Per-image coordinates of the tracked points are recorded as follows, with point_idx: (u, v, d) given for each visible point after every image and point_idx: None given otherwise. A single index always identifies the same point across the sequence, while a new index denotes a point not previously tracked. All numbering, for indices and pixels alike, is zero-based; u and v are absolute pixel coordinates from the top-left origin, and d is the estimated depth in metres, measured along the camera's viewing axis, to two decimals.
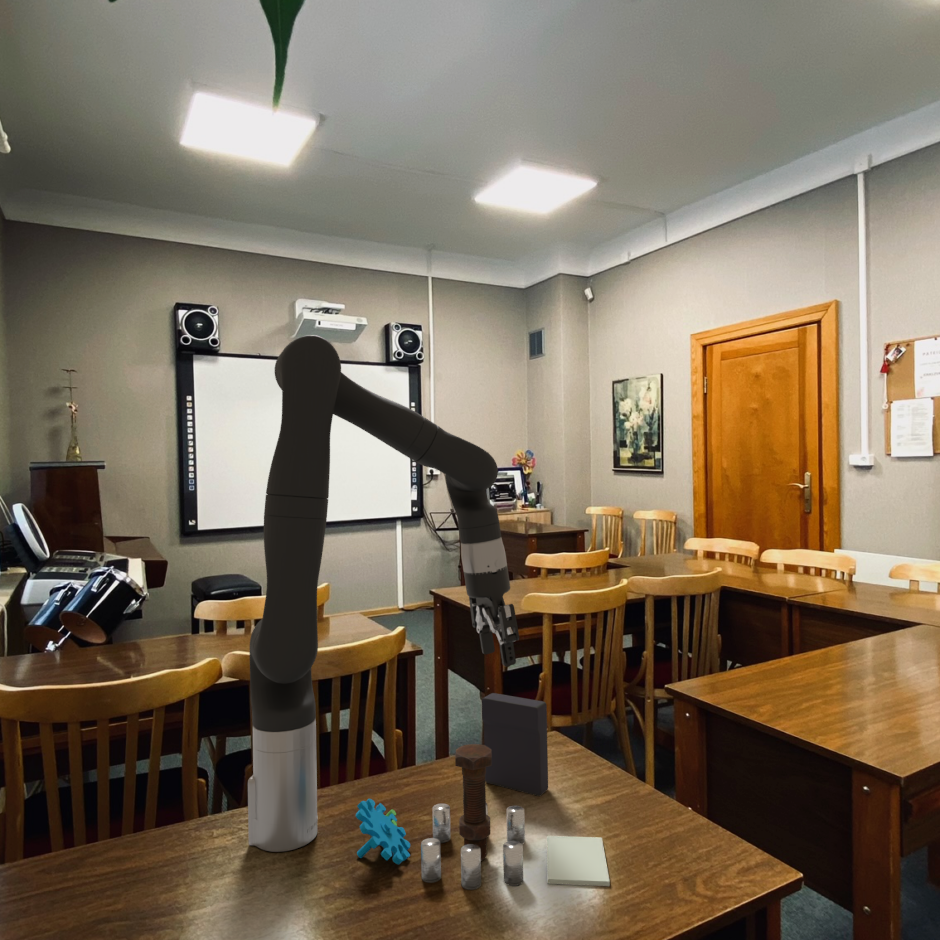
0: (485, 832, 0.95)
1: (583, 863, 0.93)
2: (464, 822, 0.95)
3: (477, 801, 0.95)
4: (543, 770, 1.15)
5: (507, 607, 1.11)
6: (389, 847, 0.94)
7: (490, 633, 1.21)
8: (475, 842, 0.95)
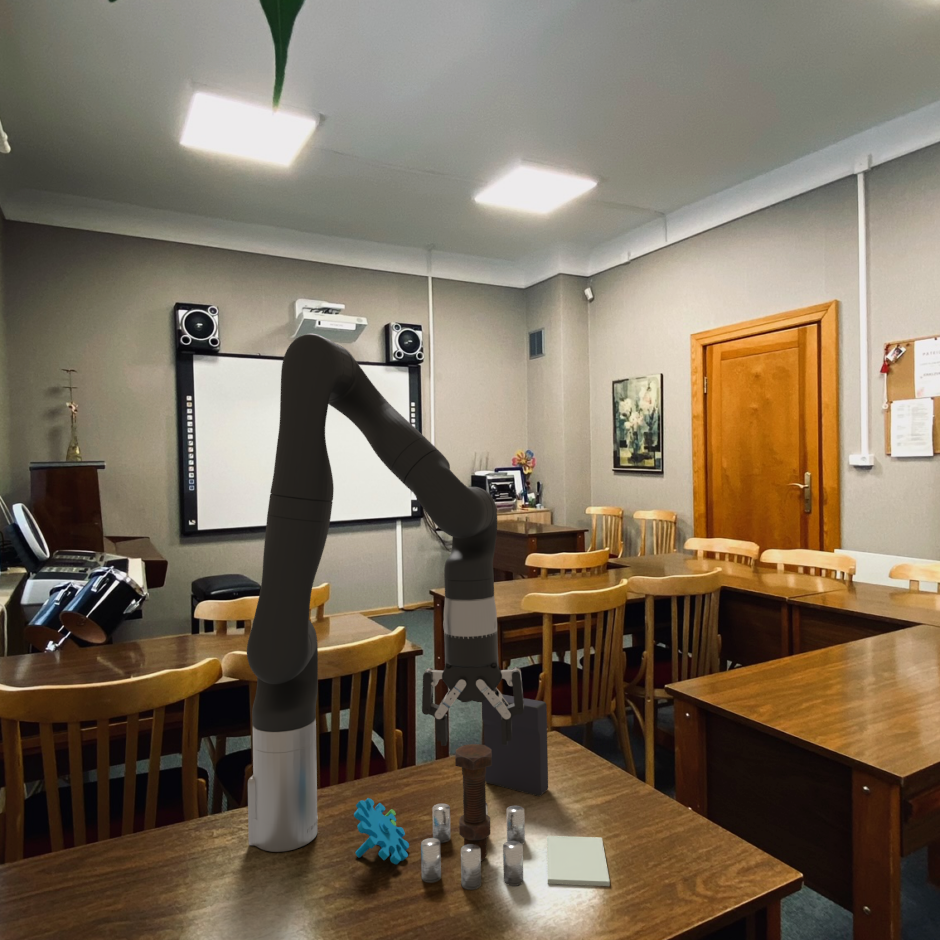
0: (485, 832, 0.95)
1: (583, 863, 0.93)
2: (464, 822, 0.95)
3: (477, 801, 0.95)
4: (543, 770, 1.15)
5: (425, 672, 0.97)
6: (387, 847, 0.94)
7: (501, 720, 0.96)
8: (475, 842, 0.95)
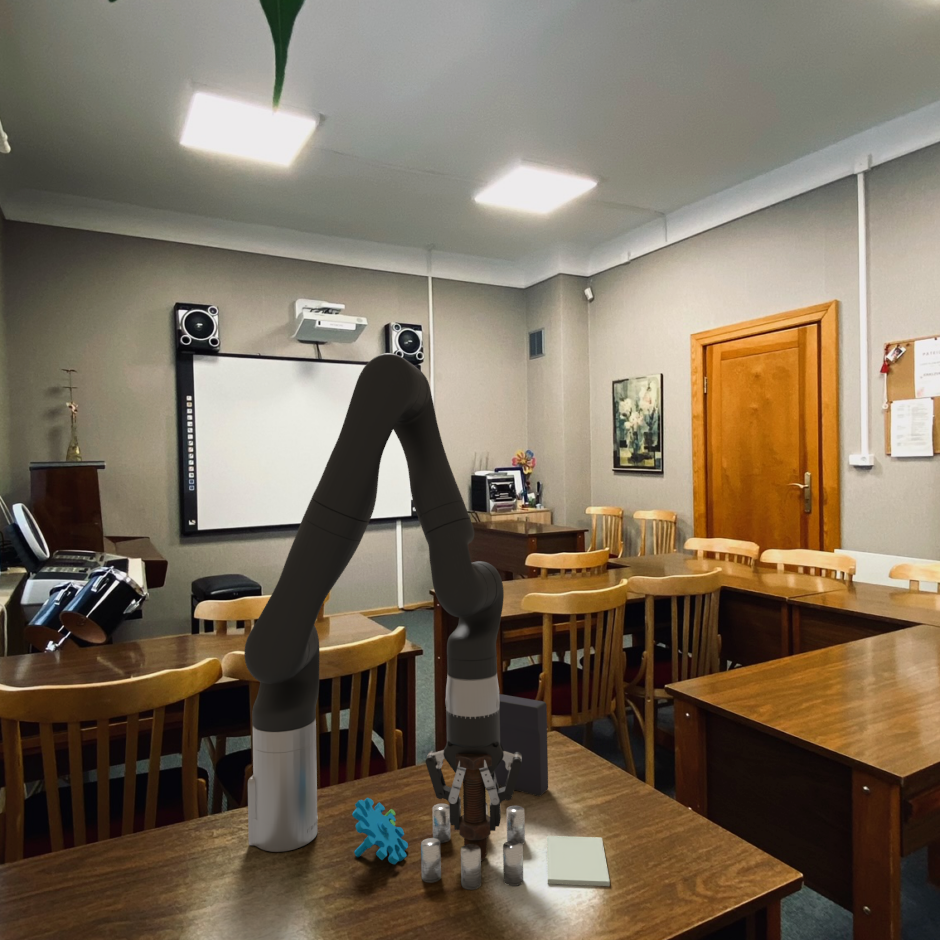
0: (485, 832, 0.95)
1: (583, 863, 0.93)
2: (464, 822, 0.95)
3: (477, 801, 0.95)
4: (543, 770, 1.15)
5: (427, 757, 0.97)
6: (385, 847, 0.94)
7: None
8: (475, 842, 0.95)
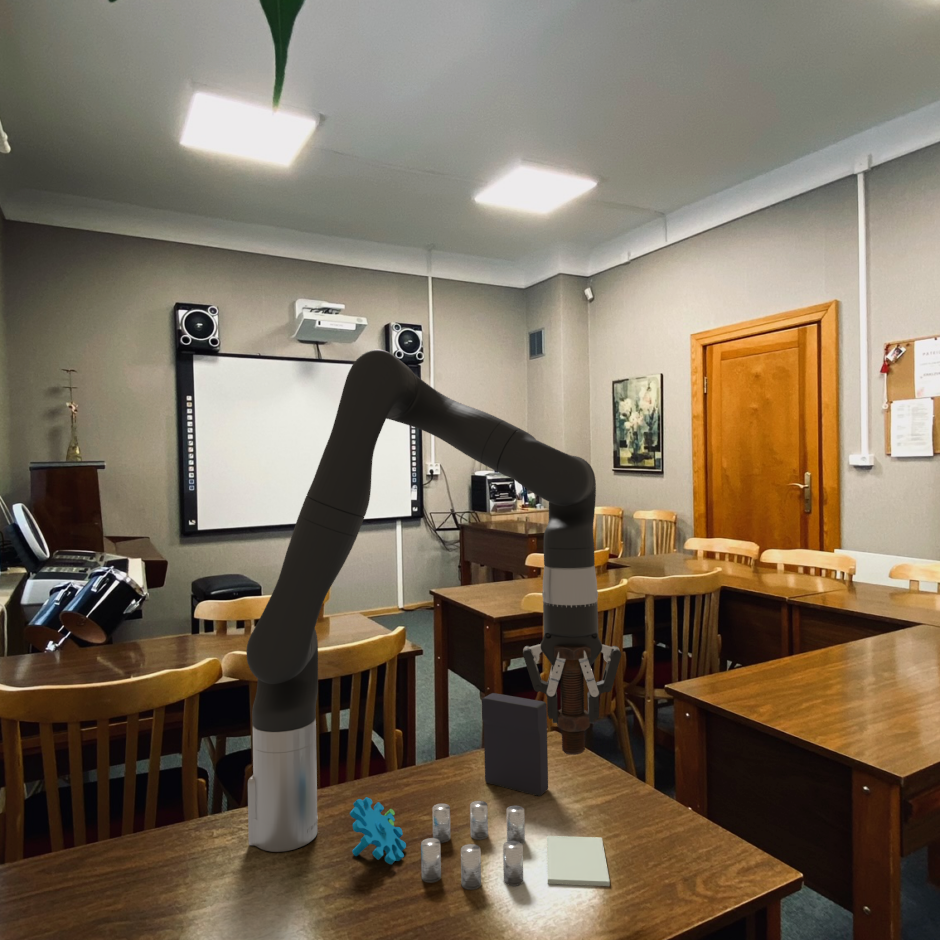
0: (585, 724, 0.94)
1: (583, 863, 0.93)
2: (563, 715, 0.94)
3: (576, 693, 0.94)
4: (543, 770, 1.15)
5: (523, 651, 0.96)
6: (381, 846, 0.94)
7: (588, 698, 0.94)
8: (574, 734, 0.94)
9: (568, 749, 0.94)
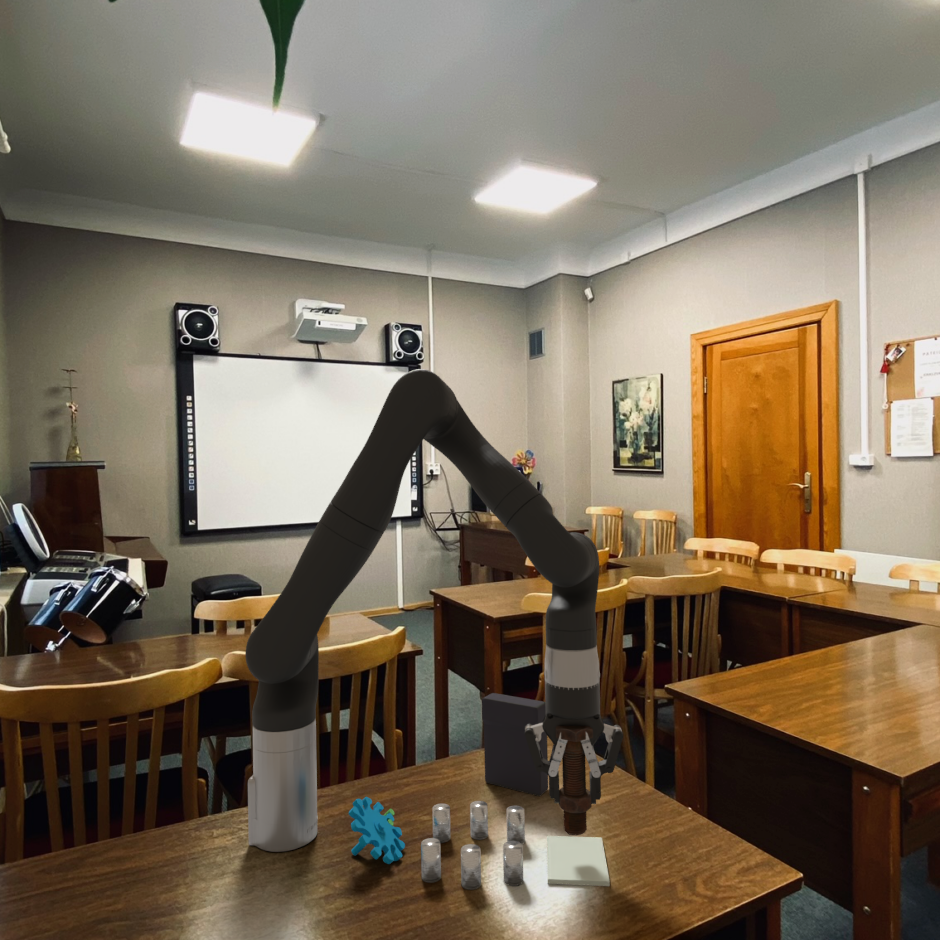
0: (587, 805, 0.93)
1: (583, 863, 0.93)
2: (564, 795, 0.94)
3: (578, 774, 0.94)
4: None
5: (525, 730, 0.96)
6: (380, 846, 0.94)
7: (590, 778, 0.94)
8: (576, 815, 0.94)
9: (570, 830, 0.94)
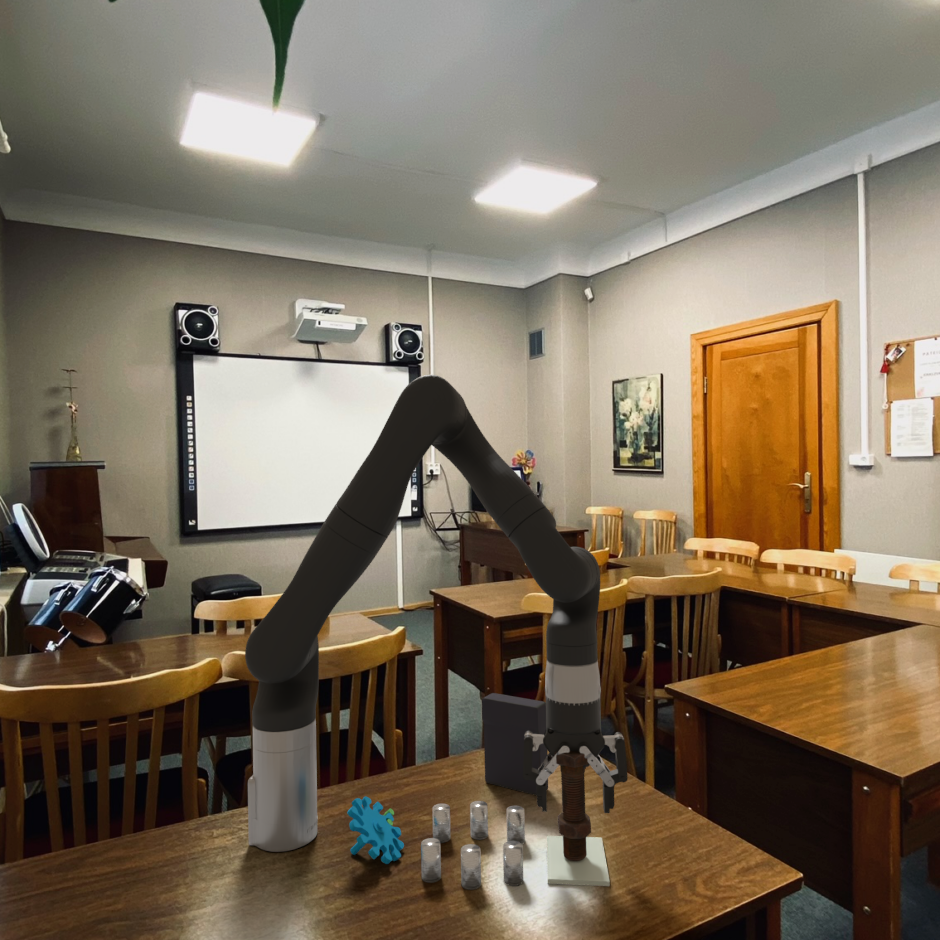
0: (586, 831, 0.93)
1: (583, 863, 0.93)
2: (564, 821, 0.94)
3: (577, 799, 0.94)
4: None
5: (525, 736, 0.96)
6: (378, 846, 0.94)
7: (603, 787, 0.94)
8: (576, 841, 0.93)
9: (569, 855, 0.94)
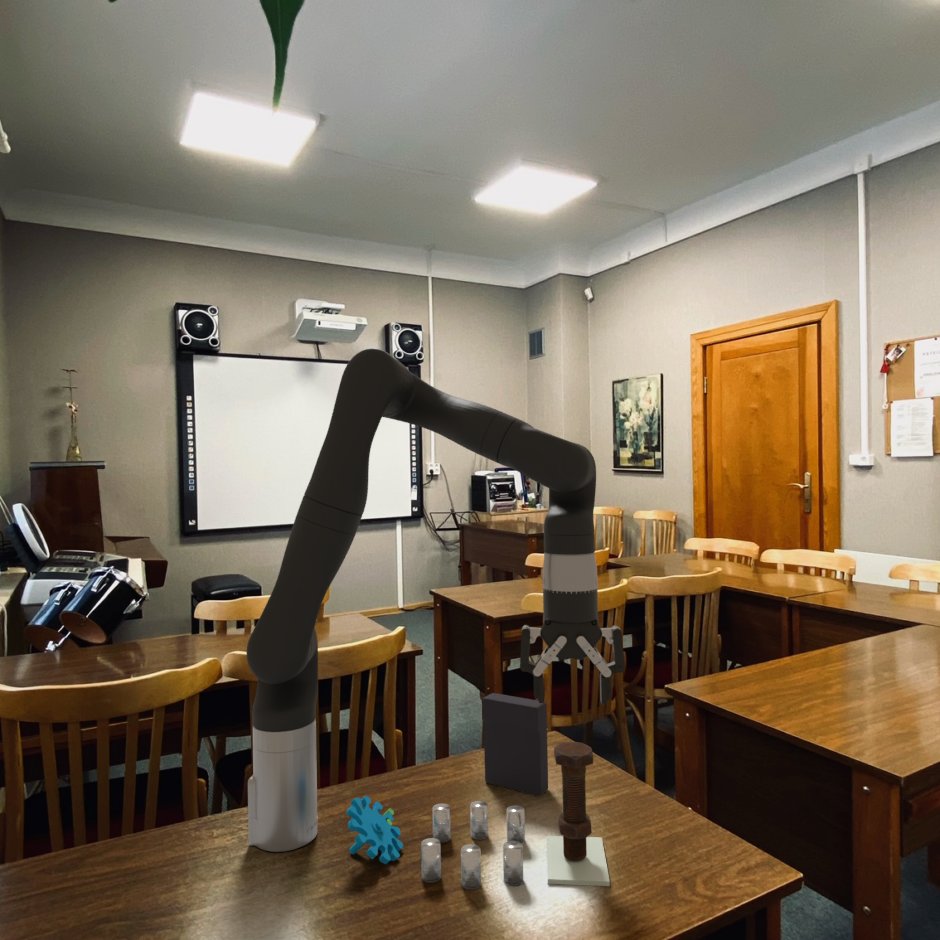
0: (586, 831, 0.93)
1: (583, 863, 0.93)
2: (564, 821, 0.94)
3: (578, 800, 0.94)
4: (543, 770, 1.15)
5: (522, 628, 0.96)
6: (376, 846, 0.94)
7: (600, 678, 0.94)
8: (576, 841, 0.93)
9: (570, 856, 0.94)
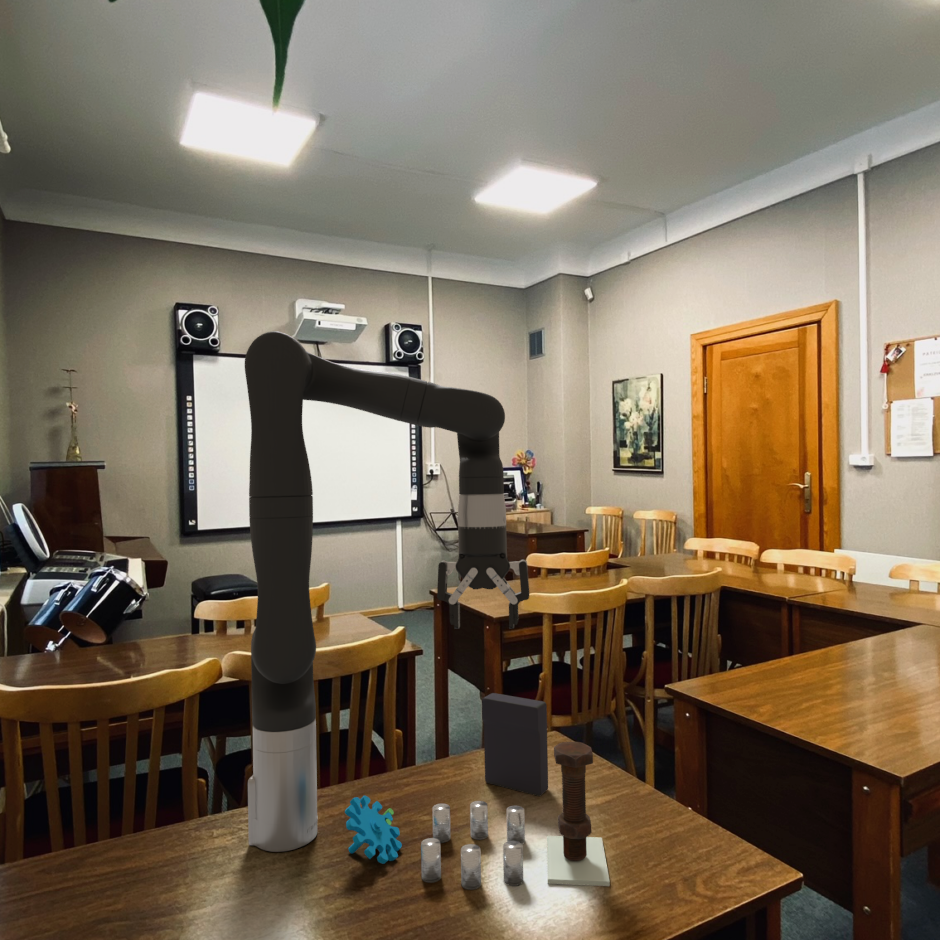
0: (586, 831, 0.93)
1: (583, 863, 0.93)
2: (564, 821, 0.94)
3: (578, 799, 0.94)
4: (543, 770, 1.15)
5: (440, 562, 1.07)
6: (374, 846, 0.94)
7: None
8: (576, 841, 0.93)
9: (570, 856, 0.94)
